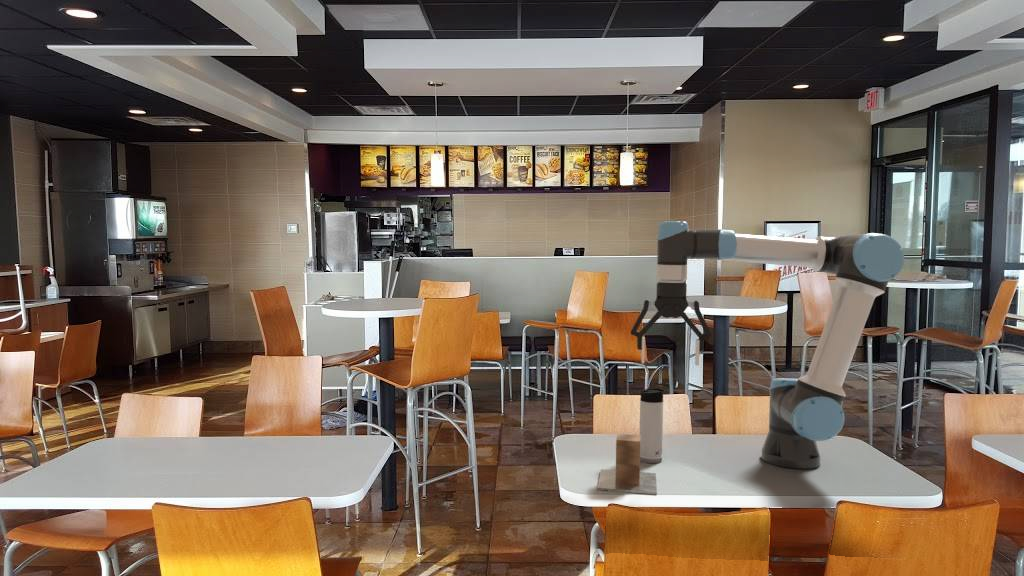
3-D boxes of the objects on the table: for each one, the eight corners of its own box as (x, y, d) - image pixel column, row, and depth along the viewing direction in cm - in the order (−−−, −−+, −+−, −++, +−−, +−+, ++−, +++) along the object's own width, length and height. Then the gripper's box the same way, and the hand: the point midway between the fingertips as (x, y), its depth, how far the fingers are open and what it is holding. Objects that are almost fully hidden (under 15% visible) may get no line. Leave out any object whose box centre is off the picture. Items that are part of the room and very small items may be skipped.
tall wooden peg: (639, 477, 169) (640, 435, 169) (639, 485, 164) (640, 441, 163) (616, 475, 170) (617, 433, 170) (615, 483, 165) (616, 440, 164)
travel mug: (663, 464, 182) (665, 391, 181) (638, 462, 183) (640, 390, 182) (663, 457, 188) (664, 386, 187) (639, 455, 189) (640, 385, 188)
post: (655, 475, 173) (656, 444, 172) (656, 494, 159) (657, 461, 159) (601, 471, 175) (601, 441, 175) (597, 490, 162) (598, 457, 161)
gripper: (720, 281, 174) (718, 363, 175) (622, 280, 178) (621, 359, 180) (723, 283, 166) (721, 368, 167) (622, 281, 171) (620, 363, 172)
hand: (669, 363), depth 173 cm, fingers open, 13 cm apart
